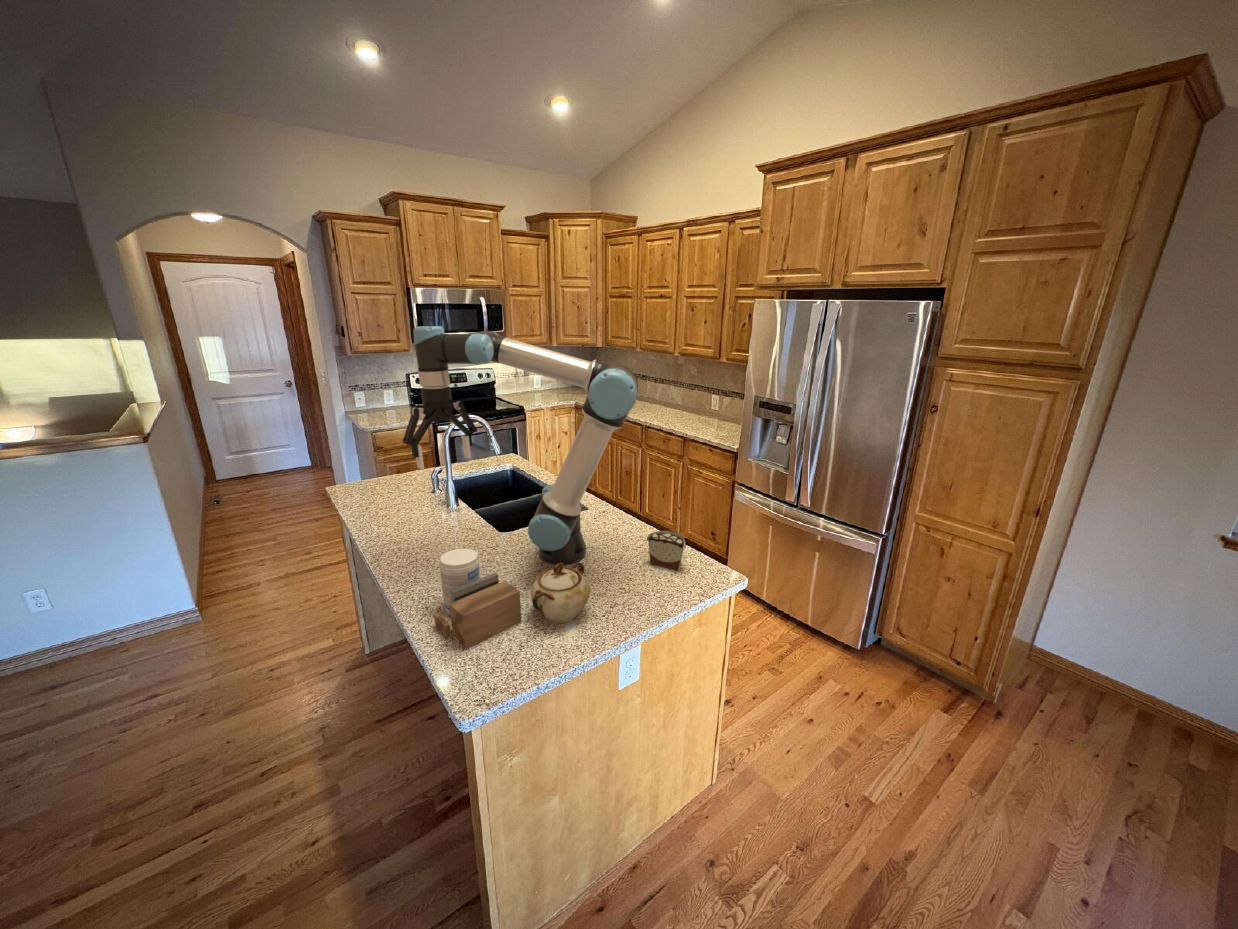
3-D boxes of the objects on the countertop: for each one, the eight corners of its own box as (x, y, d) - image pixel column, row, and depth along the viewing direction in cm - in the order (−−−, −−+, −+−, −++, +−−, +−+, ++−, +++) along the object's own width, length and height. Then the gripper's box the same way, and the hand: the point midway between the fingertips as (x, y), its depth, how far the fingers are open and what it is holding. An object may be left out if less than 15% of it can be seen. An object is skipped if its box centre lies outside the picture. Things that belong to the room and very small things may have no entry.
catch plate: (453, 624, 119) (449, 589, 116) (496, 605, 127) (494, 571, 124) (457, 628, 117) (453, 592, 114) (500, 608, 125) (498, 574, 122)
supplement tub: (479, 615, 124) (475, 564, 119) (441, 618, 122) (435, 566, 118) (483, 595, 133) (480, 546, 128) (447, 597, 131) (443, 548, 127)
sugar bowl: (559, 645, 114) (557, 589, 109) (512, 623, 121) (509, 570, 117) (605, 604, 130) (606, 554, 125) (562, 587, 137) (561, 539, 132)
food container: (689, 564, 151) (691, 535, 147) (683, 573, 145) (685, 543, 142) (652, 555, 155) (653, 527, 152) (645, 564, 150) (646, 534, 147)
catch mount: (435, 626, 119) (431, 595, 117) (499, 598, 131) (497, 569, 129) (460, 652, 111) (456, 619, 108) (526, 619, 123) (524, 589, 120)
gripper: (471, 380, 139) (479, 451, 145) (381, 390, 122) (394, 469, 129) (484, 382, 134) (491, 456, 140) (392, 393, 117) (405, 476, 124)
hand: (445, 462), depth 135 cm, fingers open, 13 cm apart
